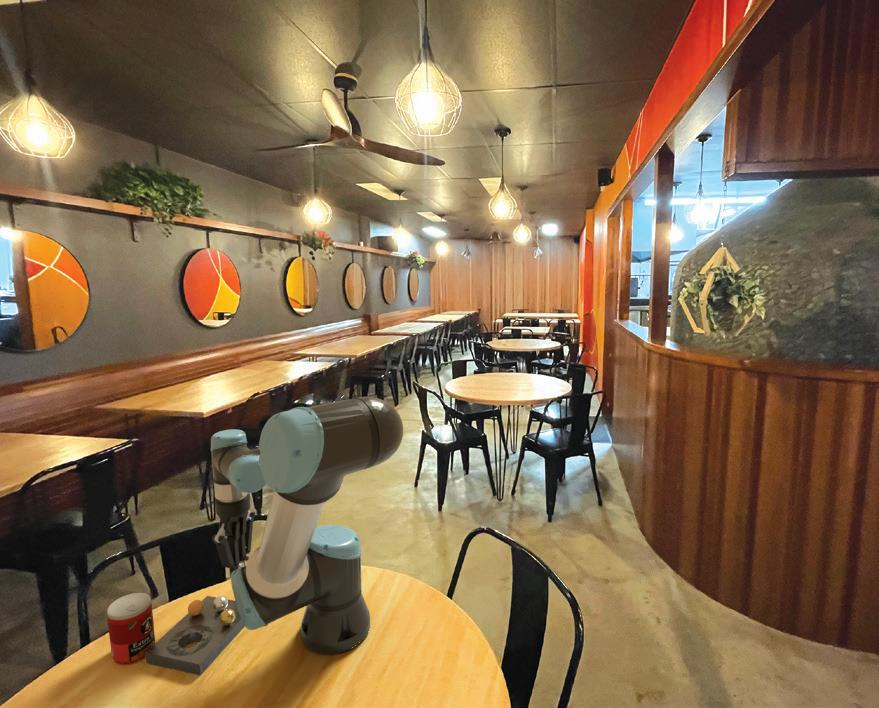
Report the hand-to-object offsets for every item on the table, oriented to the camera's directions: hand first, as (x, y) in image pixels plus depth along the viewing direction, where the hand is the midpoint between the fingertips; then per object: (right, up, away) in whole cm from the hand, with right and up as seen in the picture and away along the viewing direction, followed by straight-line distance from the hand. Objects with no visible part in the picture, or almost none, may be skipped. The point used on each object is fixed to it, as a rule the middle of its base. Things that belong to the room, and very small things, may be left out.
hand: (238, 587), depth 114 cm
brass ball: (+2, -1, -11) cm, 11 cm away
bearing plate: (-3, -5, -11) cm, 13 cm away
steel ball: (-1, -1, -6) cm, 7 cm away
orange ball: (-6, -1, -8) cm, 10 cm away
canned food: (-16, -6, -15) cm, 23 cm away
